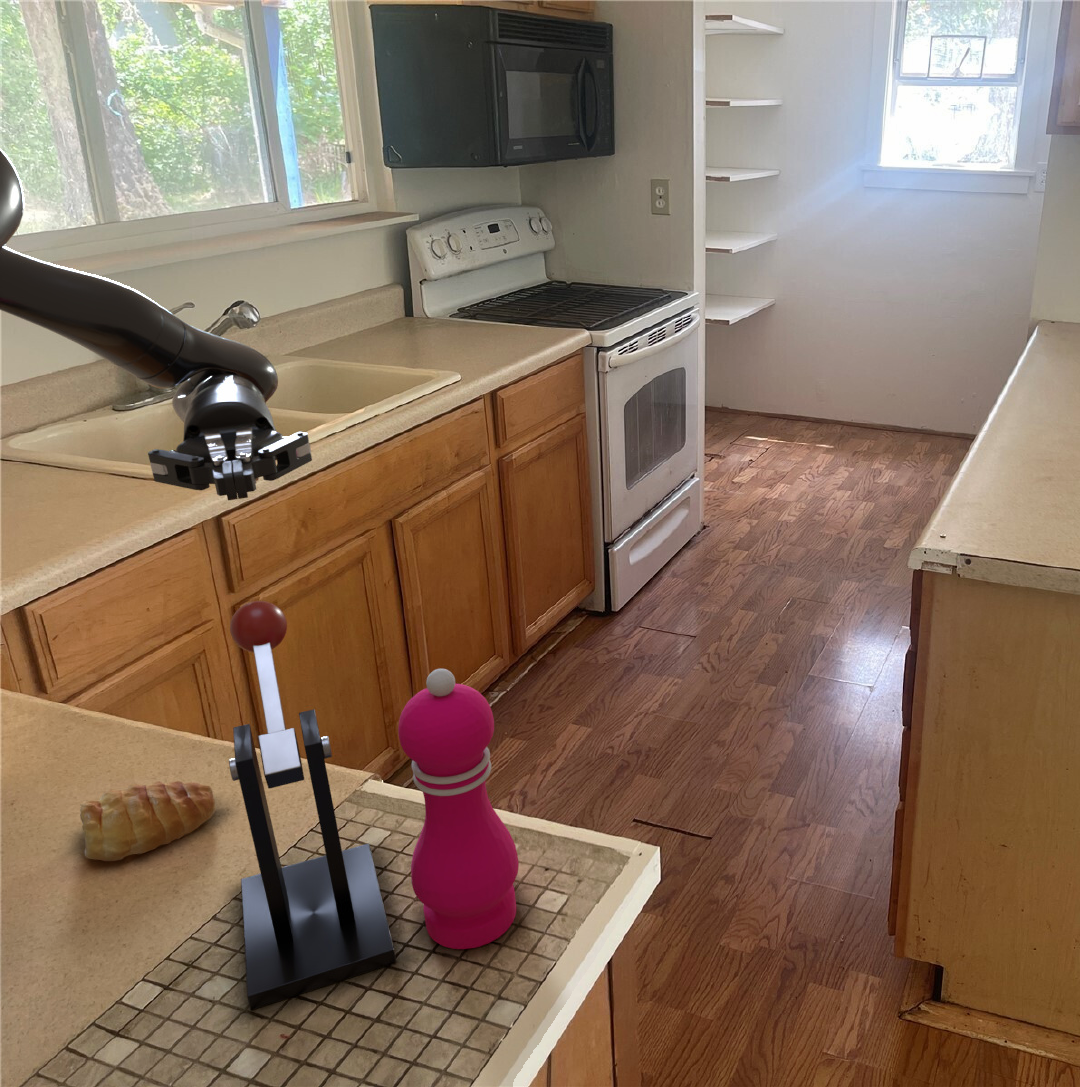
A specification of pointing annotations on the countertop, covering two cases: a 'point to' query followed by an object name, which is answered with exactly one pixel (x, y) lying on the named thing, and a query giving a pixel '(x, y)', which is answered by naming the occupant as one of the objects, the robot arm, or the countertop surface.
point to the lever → (269, 689)
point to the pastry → (143, 818)
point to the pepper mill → (458, 816)
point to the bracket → (306, 892)
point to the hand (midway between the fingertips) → (235, 487)
